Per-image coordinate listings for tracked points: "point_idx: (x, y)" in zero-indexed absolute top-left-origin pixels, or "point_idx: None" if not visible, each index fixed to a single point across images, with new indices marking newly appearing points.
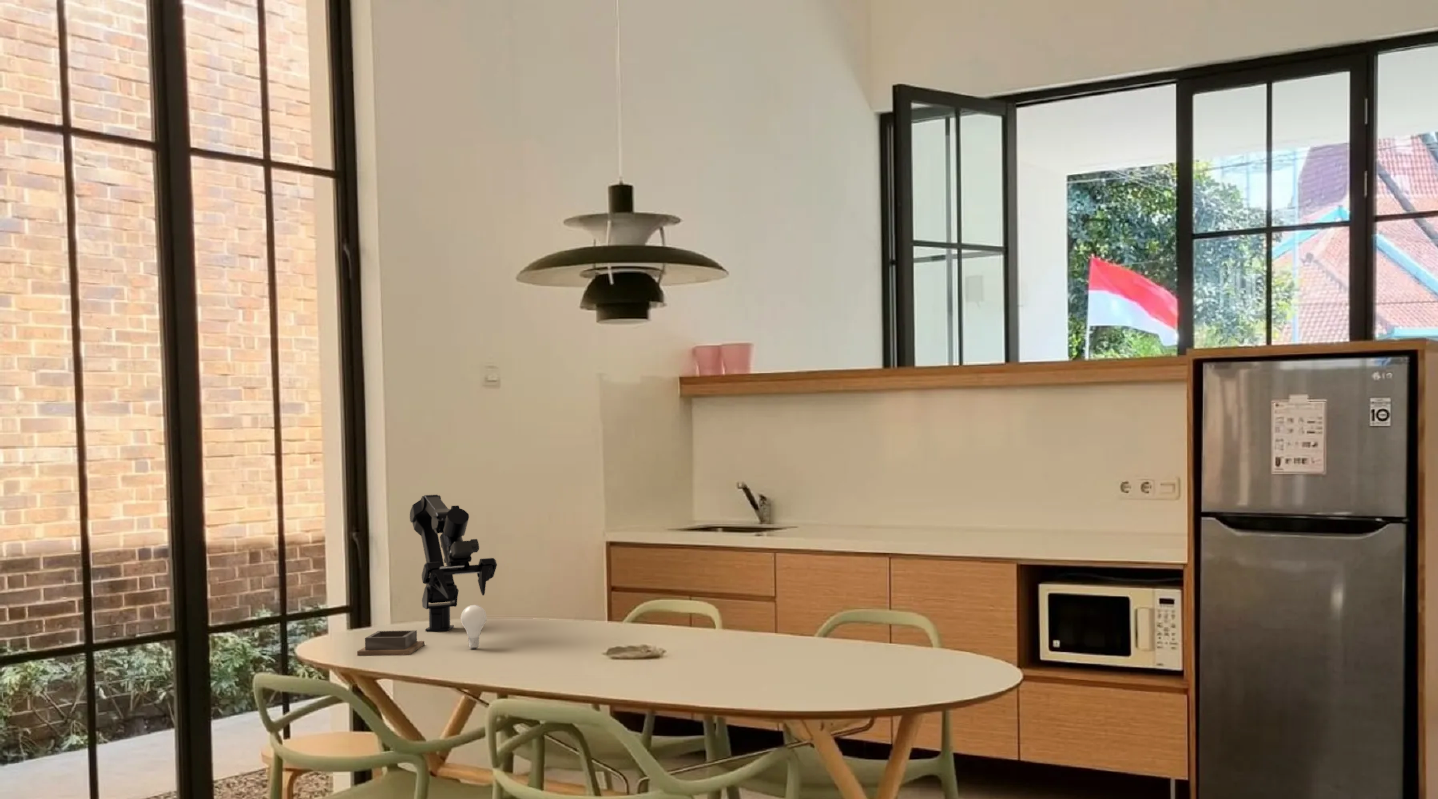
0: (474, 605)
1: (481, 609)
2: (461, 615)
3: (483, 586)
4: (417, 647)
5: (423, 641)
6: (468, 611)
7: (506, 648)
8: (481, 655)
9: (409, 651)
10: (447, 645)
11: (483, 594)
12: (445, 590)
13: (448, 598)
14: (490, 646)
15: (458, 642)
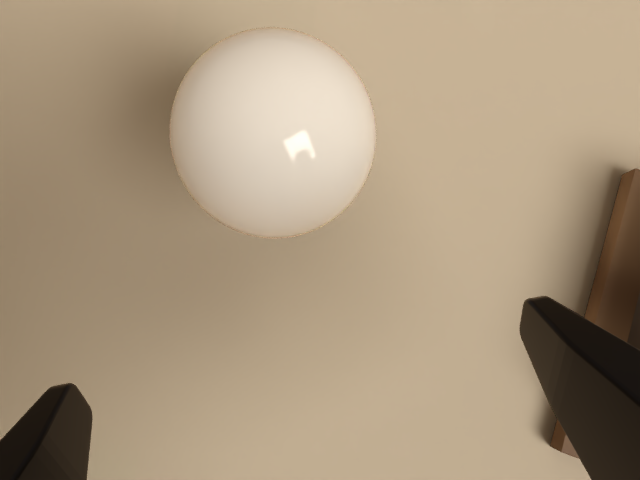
0: (255, 69)
1: (202, 57)
2: (373, 109)
3: (4, 468)
4: (591, 311)
5: (566, 437)
6: (320, 40)
7: (128, 146)
8: (275, 16)
9: (631, 173)
10: (419, 373)
11: (77, 398)
12: (618, 339)
13: (523, 327)
14: (196, 238)
15: (351, 450)
